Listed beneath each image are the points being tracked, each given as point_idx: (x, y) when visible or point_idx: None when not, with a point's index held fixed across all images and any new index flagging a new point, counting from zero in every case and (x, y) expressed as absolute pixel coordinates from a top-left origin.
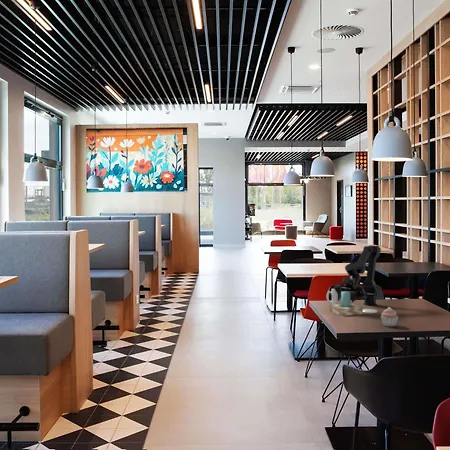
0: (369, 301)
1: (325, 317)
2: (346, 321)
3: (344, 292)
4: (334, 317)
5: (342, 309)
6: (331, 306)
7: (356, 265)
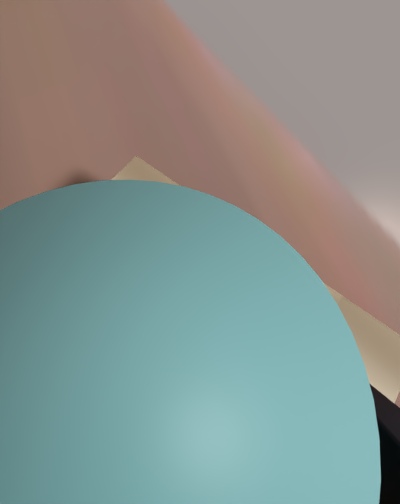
0: None
1: (246, 92)
2: (43, 36)
3: (140, 246)
4: (181, 117)
5: (132, 165)
6: (362, 316)
7: None
